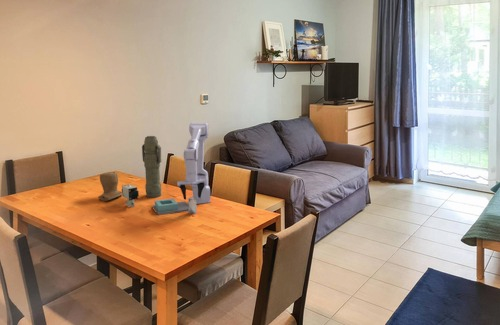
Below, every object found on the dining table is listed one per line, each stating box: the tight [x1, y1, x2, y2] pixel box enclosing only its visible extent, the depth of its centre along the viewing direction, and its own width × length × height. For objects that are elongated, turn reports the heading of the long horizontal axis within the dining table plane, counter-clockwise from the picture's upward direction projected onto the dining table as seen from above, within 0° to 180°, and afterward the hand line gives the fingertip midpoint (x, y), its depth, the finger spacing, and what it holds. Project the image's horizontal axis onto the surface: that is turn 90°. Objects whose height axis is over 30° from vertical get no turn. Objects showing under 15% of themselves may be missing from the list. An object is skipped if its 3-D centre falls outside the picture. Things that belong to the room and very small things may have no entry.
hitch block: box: [151, 198, 189, 216], centre depth 225 cm, size 18×14×4 cm
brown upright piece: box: [97, 171, 123, 202], centre depth 243 cm, size 15×12×15 cm
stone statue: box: [141, 135, 162, 199], centre depth 245 cm, size 9×12×35 cm
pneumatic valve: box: [121, 183, 139, 208], centre depth 230 cm, size 6×12×12 cm, turn 40°
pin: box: [187, 196, 198, 215], centre depth 218 cm, size 4×4×8 cm
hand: (192, 198), depth 217 cm, fingers open, 7 cm apart
